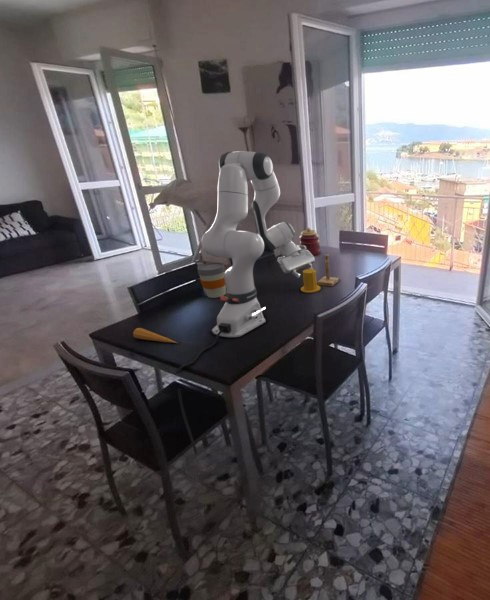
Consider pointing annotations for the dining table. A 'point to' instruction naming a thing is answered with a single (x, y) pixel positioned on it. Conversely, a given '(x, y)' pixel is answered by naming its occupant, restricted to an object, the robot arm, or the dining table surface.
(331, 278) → the hat peg
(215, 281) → the reusable coffee cup
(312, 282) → the hat
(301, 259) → the robot arm
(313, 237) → the kitchen canister
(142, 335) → the carrot
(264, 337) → the dining table surface
